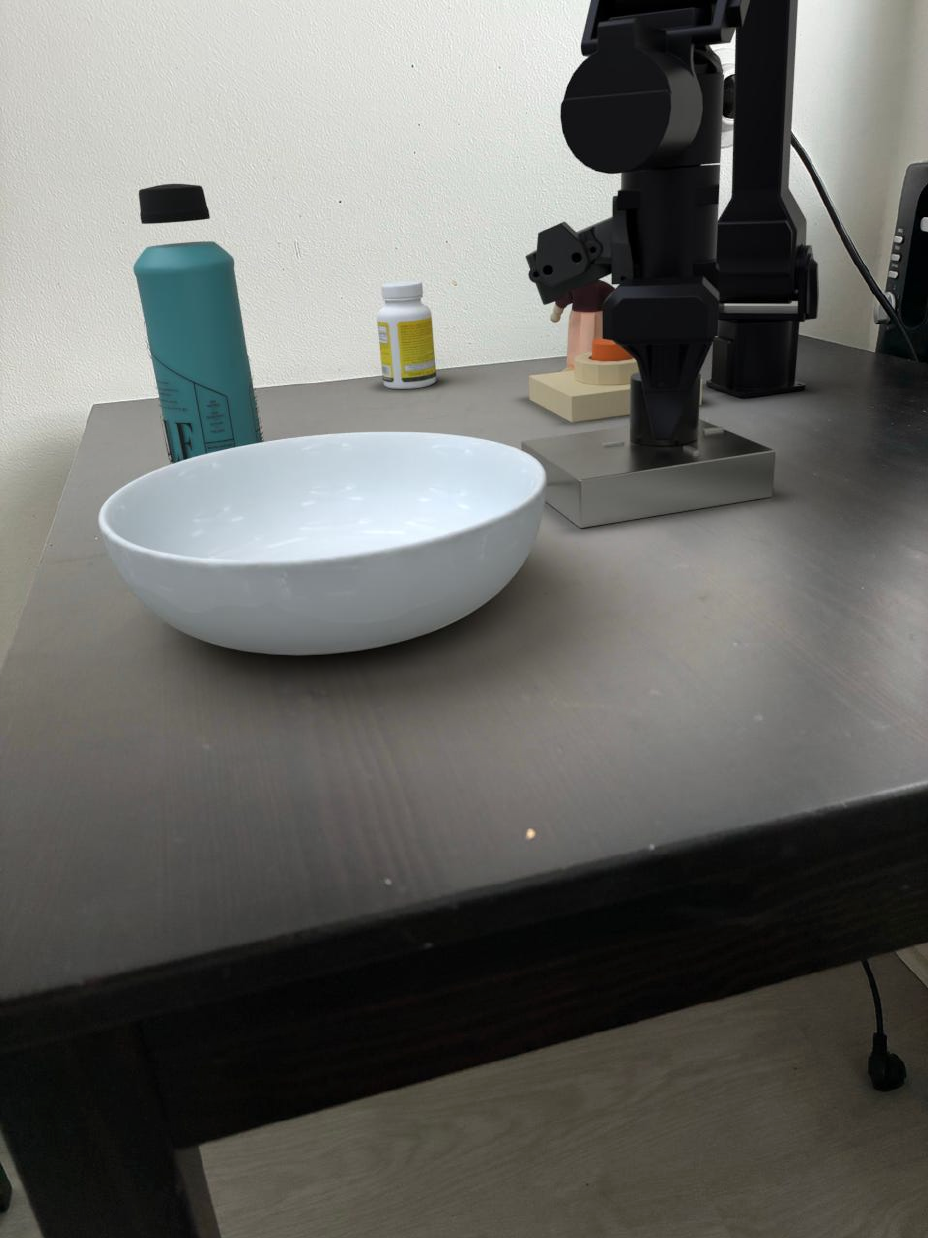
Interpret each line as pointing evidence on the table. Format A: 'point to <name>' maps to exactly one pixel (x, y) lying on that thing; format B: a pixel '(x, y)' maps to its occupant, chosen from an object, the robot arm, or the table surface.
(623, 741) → the table surface
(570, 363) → the grandmother figurine
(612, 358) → the power button
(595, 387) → the coffee base
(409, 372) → the supplement bottle
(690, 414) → the brew dial
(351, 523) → the serving bowl
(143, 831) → the table surface
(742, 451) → the dial panel
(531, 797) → the table surface
